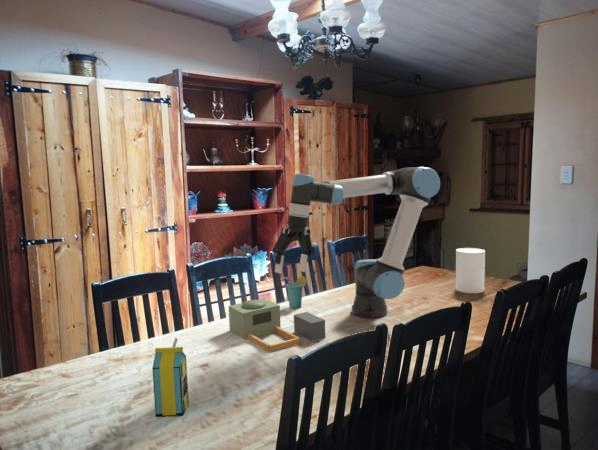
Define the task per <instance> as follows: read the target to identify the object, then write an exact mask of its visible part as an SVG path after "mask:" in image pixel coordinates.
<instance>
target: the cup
mask: <svg viewBox="0 0 598 450" xmlns="http://www.w3.org/2000/svg"><path fill="white" fill-rule="evenodd" d="M284 280H286V282H287V283H286V288H287V297H288V307H289V309H291V310H299V309H301V308H302V302H303V301H302V300H303V299H302V298H303V287H305V286H306V285H307V283H308V279H307V277H306V276H303V275H300V276H298V277H297V278H296V281H295V282H290V280H289V277H287V276H285V277H282V278H280V279H279V281H280V282H281V281H284Z"/></svg>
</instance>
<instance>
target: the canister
mask: <svg viewBox="0 0 598 450" xmlns="http://www.w3.org/2000/svg"><path fill="white" fill-rule="evenodd" d="M485 267H486V250H485V249H482V248H477V247H462V248H461V247H460V248H456V249H455V290H456V291H457V292H459V293H460V292H461V293H465V294H479V293H483V292H485V277H486V272H485V271H486V268H485Z"/></svg>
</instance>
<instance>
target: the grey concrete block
mask: <svg viewBox="0 0 598 450" xmlns="http://www.w3.org/2000/svg"><path fill="white" fill-rule="evenodd" d="M293 331H294V332H293V333H295V334H297V335H299V336H301V337H303V338H305V339H306V340H308V341H311V342H315V341H319V340H322V339H326V319H324V318H322V317H319V316H317V315H315V314H313V313H310V312H308V311H305V312H300V313H296V314H294V315H293Z"/></svg>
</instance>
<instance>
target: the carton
mask: <svg viewBox="0 0 598 450" xmlns="http://www.w3.org/2000/svg"><path fill="white" fill-rule="evenodd" d="M178 340H179V339H178V338H176V337H175V338H174V341H173V344H172V347H171V346H170V347H156V348H155V349H154V350H155V351H154V358H153V363H152V369H151V370H152V381H153V397H154V412H155V418H167V417H166V416H169V417H184V415H185V413H186V410H187V408H186V407H188V405H189V386H188V385H189V384H188V367H187V355H186V354H185V352H184V351H183V350H184V347H183V346H176V345H177V343H178ZM169 417H168V418H169Z"/></svg>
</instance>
